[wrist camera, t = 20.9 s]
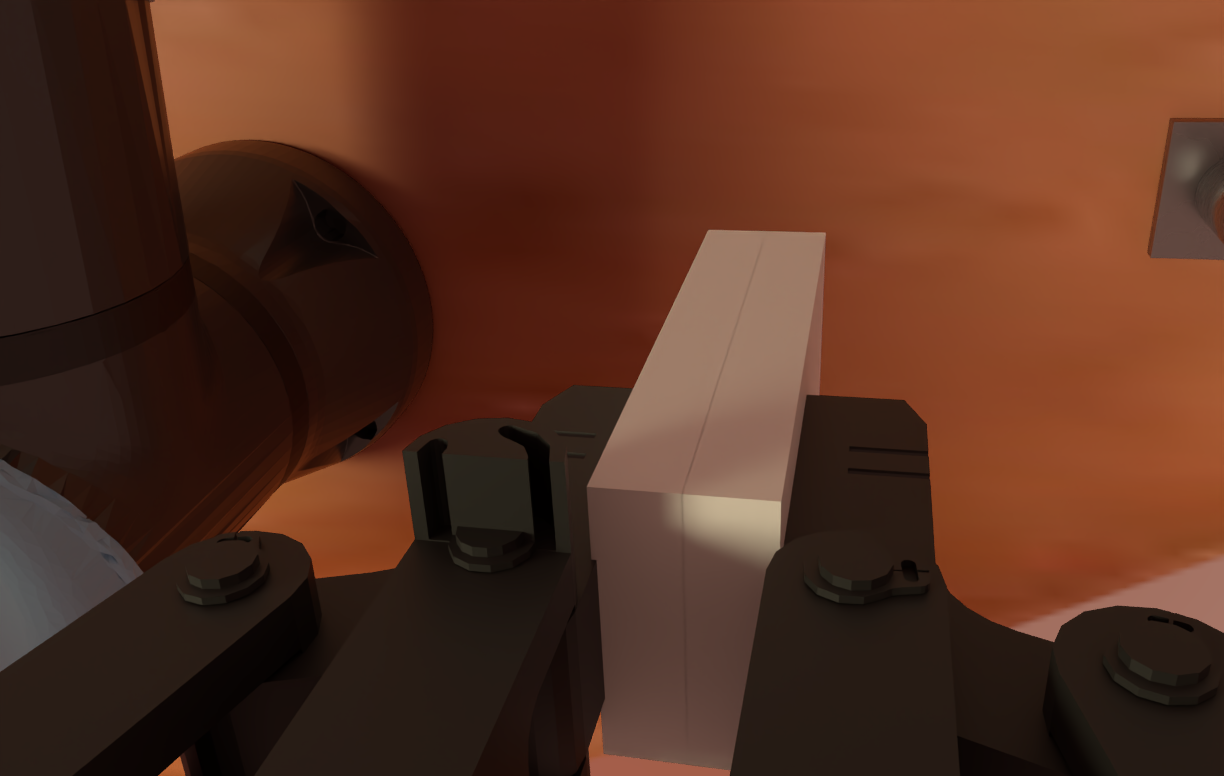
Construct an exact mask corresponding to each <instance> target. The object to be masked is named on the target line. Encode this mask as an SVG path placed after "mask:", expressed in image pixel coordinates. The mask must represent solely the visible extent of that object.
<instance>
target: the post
mask: <svg viewBox="0 0 1224 776" xmlns="http://www.w3.org/2000/svg"><path fill="white" fill-rule="evenodd" d="M1147 253H1148V254H1149V256H1150V257H1151V258H1179V259H1216V260H1224V118H1170V123H1169V129H1168V134H1167V140H1166V146H1165V152H1164V158H1163V164H1162V170H1161V176H1160V181H1159V187H1158V193H1157V199H1156V205H1155V211H1154V217H1153V222H1152V228H1151V234H1150V240H1149V246H1148V252H1147Z"/></svg>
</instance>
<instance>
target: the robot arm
mask: <svg viewBox="0 0 1224 776" xmlns="http://www.w3.org/2000/svg"><path fill="white" fill-rule="evenodd" d="M154 1H155V0H0V776H158V775H159V774H160V773H161V772H163V771H164V770H165V769H166V768H167V767H168V766H169V765H170V764H172V763H173V762H174V761H175V760H176V759H177V758H178V757H179V756H180V757H181V761H182V764H183V768H184V771H185V775H186V776H590V766H589V751H588V748H589V745H590V742H591V739H592V736H593V733H594V730H595V727H596V724H597V721H598V718H599V715H600V712H601V718H602V734H603V750H604V754H609V755H617V756H625V757H633V758H640V759H648V760H655V761H663V762H671V763H678V764H686V765H694V766H702V767H709V768H717V769H724V770H731V771H730V776H1224V633H1222V632H1221V631H1219V630H1217V629H1214V628H1213V627H1211V626H1209V625H1207V624H1205V623H1203V622H1201V621H1199V620H1197V619H1193V618H1189V617H1186V616H1183V615H1180V614H1177V613H1176V614H1175V613H1171V612H1169V611H1164V610H1160V609H1157V608H1143V607H1129V606H1113V607H1107V608H1102V609H1097V610H1091V611H1085V612H1083V613H1081V614H1080V615H1078V616H1077V617H1075V618H1073V619H1072V620H1070V621H1068V622H1067V623H1065V624H1064V625H1062V626H1061V628H1060V630H1059V633H1058V635H1057V637H1056V639H1055V642H1051V641H1048V640H1045V639H1041V638H1038V637H1035V636H1031V635H1028V634H1025V633H1021V632H1018V631H1015V630H1013V629H1010V628H1008V627H1005V626H1002V625H1000V624H997V623H994V622H992V621H990V620H988V619H986V618H984V617H983V616H981V615H979V614H977V613H975V612H974V611H972V610H970V609H968V608H967V607H966V606H965V605H963V604H962V603H961V602H960V601H959V600H958V599H956V598H955V597H954V596H953V595H952V594H951V593H950V592H949V591H948V589H947V587H946V584H945V581H944V579H943V577H942V574H941V572H940V569H939V567H938V565H936V564H935V549H934V534H933V518H932V502H931V486H930V479H929V477H930V470H929V457H928V439H927V424H926V423H925V422H924V421H923V420H922V419H921V418H920V417H919V416H918V414H917V413H916V412H915V411H914V410H913V409H912V408H911V407H910V406H909V405H908V404H907V403H906V401H905V400H894V399H876V398H858V397H840V396H822V395H820V370H821V344H822V319H823V293H824V268H825V242H826V233H823V232H781V231H739V230H708V232H707V234H706V236H705V238H704V240H703V242H702V244H701V246H700V249H699V251H698V253H697V255H696V257H695V259H694V261H693V263H692V265H691V268H690V270H689V272H688V274H687V276H686V278H685V280H684V282H683V284H682V287H681V289H680V291H679V293H678V295H677V297H676V299H675V301H674V303H673V306H672V308H671V310H670V312H669V314H668V316H667V318H666V320H665V322H664V325H663V327H662V329H661V331H660V333H659V335H658V337H657V339H656V341H655V344H654V346H653V348H652V350H651V352H650V354H649V356H648V358H647V360H646V363H645V365H644V367H643V369H642V371H641V373H640V375H639V377H638V379H637V382H636V384H635V386H634V388H616V387H598V386H580V385H573V386H571V387H570V388H568V389H567V390H565V391H563V392H562V393H560V394H559V395H557V396H556V397H554V398H552V399H551V400H549V401H548V402H546V403H545V404H543V405H542V406H541V408H540V410H539V411H538V413H537V414H536V416H535V418H534V419H533V421H532V422H530V421H524V420H518V419H512V418H484V419H473V420H468V421H463V422H459V423H454V424H449V425H445V426H443V427H441V428H438V429H436V430H434V431H431V432H429V433H427V434H424V435H422V436H420V437H419V438H417V439H416V440H415V441H414V442H412V443H411V444H410V445H409V446H408V447H406V448H405V449H404V450H403V451H402V452H403V459H404V466H405V473H406V480H407V487H408V494H409V501H410V508H411V515H412V521H413V528H414V535H415V540H414V542H413V543H412V545H411V546H410V548H409V549H408V551H407V552H406V553H405V555H404V556H403V558H402V559H401V561H400V562H399V564H398V565H397V567H396V568H395V569H389V570H383V571H378V572H372V573H363V574H354V575H345V576H336V577H327V578H318V579H315V576H314V570H313V565H312V560H311V557H310V556H309V554H308V552H307V551H306V549H305V547H304V546H303V544H302V543H300V542H298V541H296V540H294V539H292V538H290V537H288V536H286V535H284V534H278V533H269V532H261V531H240V530H241V529H242V527H243V526H244V525H245V524H246V523H247V522H248V521H249V520H250V519H251V518H252V516H253V515H254V514H255V513H256V512H257V511H258V510H259V509H260V508H261V507H262V505H263V504H264V503H265V502H266V501H267V500H268V499H269V498H270V496H271V495H272V494H273V493H274V492H275V491H276V490H277V489H278V488H279V487H280V486H281V485H282V484H284V483H286V482H289V481H291V480H294V479H297V478H299V477H302V476H305V475H307V474H310V473H313V472H315V471H318V470H321V469H323V468H326V467H329V466H331V465H334V464H337V463H339V462H342V461H344V460H346V459H348V458H351V457H353V456H355V455H356V454H358V453H360V452H361V451H363V450H364V449H366V448H367V447H369V446H370V445H371V444H373V443H374V442H375V441H377V440H378V439H379V438H380V437H381V436H382V435H383V434H384V433H385V432H386V431H387V430H388V429H389V428H390V427H391V426H392V424H393V423H394V422H395V421H396V420H397V419H398V418H399V416H400V415H401V414H402V413H403V412H404V411H405V409H406V408H407V407H408V406H409V404H410V403H411V402H412V400H413V399H414V397H415V396H416V394H417V392H418V390H419V388H420V386H421V384H422V382H423V379H424V377H425V374H426V371H427V368H428V364H429V360H430V356H431V349H432V338H433V321H432V310H431V304H430V298H429V294H428V289H427V286H426V282H425V279H424V276H423V273H422V271H421V268H420V265H419V263H418V261H417V259H416V256H415V254H414V252H413V250H412V248H411V247H410V245H409V243H408V241H407V239H406V238H405V236H404V235H403V233H402V231H401V230H400V228H399V227H398V226H397V224H396V223H395V222H394V220H393V219H392V217H391V216H390V215H389V214H388V213H387V211H386V210H385V209H384V208H383V207H382V206H381V205H380V203H379V202H378V201H377V200H376V199H375V198H374V197H373V196H372V195H371V194H370V193H369V192H367V191H366V190H365V189H364V188H363V187H362V186H361V185H359V184H358V183H357V182H356V181H355V180H353V179H352V178H351V177H349V176H348V175H346V174H345V173H344V172H342V171H341V170H339V169H337V168H336V167H334V166H333V165H331V164H329V163H327V162H325V161H323V160H322V159H320V158H318V157H315V156H313V155H311V154H309V153H306V152H304V151H301V150H298V149H295V148H292V147H288V146H285V145H281V144H276V143H271V142H264V141H253V140H238V141H227V142H221V143H216V144H212V145H208V146H205V147H202V148H199V149H197V150H195V151H192V152H190V153H188V154H185V155H183V156H181V157H179V158H176V159H174V157H173V151H172V145H171V138H170V132H169V125H168V119H167V112H166V106H165V99H164V93H163V87H162V80H161V74H160V67H159V61H158V54H157V48H156V41H155V35H154V28H153V22H152V16H151V9H150V3H149V2H154ZM239 531H240V533H238V532H239Z"/></svg>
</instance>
